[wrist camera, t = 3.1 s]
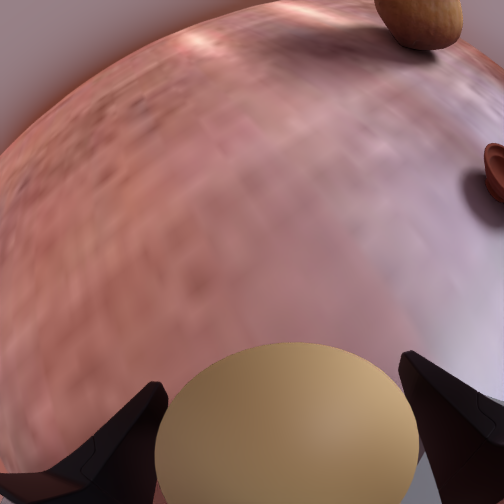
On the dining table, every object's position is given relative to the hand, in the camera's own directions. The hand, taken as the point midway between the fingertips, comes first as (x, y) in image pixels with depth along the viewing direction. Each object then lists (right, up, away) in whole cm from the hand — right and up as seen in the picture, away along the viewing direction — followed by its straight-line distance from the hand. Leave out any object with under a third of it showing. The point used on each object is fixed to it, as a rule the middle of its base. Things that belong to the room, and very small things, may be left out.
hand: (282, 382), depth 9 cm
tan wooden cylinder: (+1, -4, +6) cm, 7 cm away
